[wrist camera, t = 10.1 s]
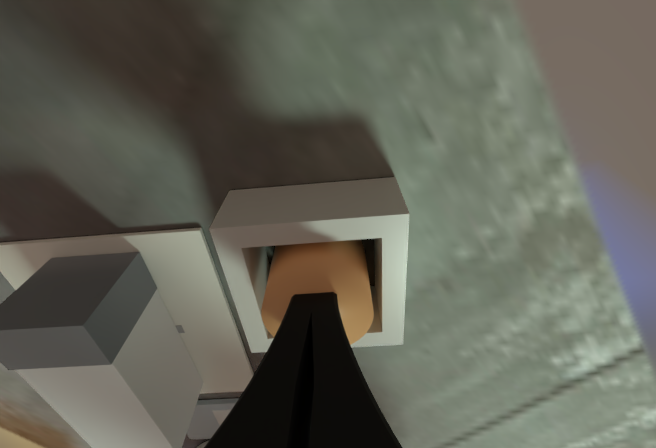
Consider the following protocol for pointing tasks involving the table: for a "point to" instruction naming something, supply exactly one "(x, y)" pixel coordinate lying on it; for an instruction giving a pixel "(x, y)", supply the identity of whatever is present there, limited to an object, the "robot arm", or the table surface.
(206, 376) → the paper sheet
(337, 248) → the button
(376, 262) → the button box
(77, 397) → the grey rectangular prism
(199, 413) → the card
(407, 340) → the table surface
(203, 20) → the table surface
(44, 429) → the table surface
